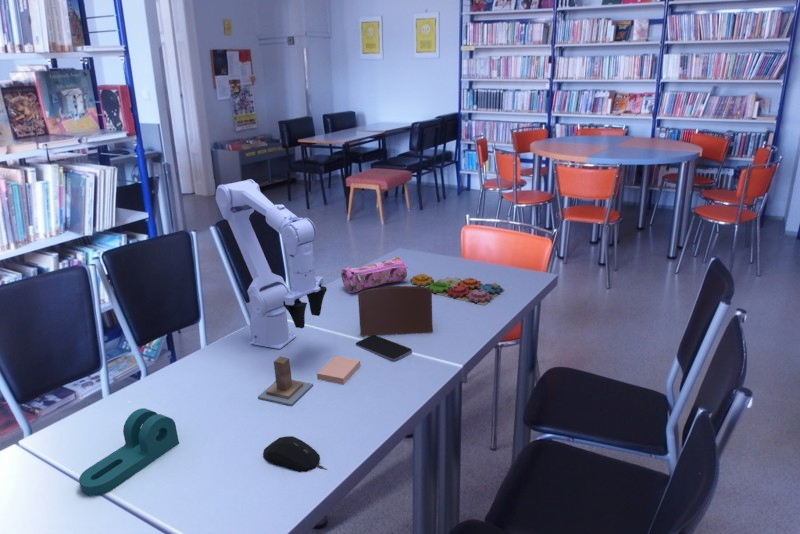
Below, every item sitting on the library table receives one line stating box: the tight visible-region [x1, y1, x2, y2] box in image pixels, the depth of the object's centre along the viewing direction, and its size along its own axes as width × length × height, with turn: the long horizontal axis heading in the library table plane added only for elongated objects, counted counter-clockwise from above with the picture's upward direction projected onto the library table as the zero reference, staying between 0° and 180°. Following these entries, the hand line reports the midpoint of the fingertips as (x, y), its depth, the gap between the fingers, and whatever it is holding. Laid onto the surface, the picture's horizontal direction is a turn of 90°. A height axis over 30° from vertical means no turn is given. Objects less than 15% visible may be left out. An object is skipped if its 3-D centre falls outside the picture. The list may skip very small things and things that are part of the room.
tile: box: [316, 355, 361, 385], centre depth 141 cm, size 2×9×7 cm
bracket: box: [78, 407, 180, 497], centre depth 109 cm, size 18×7×8 cm, turn 150°
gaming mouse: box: [262, 435, 328, 473], centre depth 110 cm, size 6×15×4 cm, turn 62°
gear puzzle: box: [409, 273, 505, 307], centre depth 189 cm, size 31×16×4 cm, turn 55°
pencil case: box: [340, 256, 408, 294], centre depth 192 cm, size 21×9×9 cm, turn 118°
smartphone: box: [355, 335, 413, 363], centre depth 152 cm, size 7×1×15 cm
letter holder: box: [357, 285, 433, 337], centre depth 161 cm, size 10×20×14 cm, turn 93°
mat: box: [257, 379, 314, 407], centre depth 133 cm, size 9×9×1 cm
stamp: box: [266, 356, 303, 399], centre depth 132 cm, size 6×6×8 cm
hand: (308, 321), depth 144 cm, fingers open, 7 cm apart
